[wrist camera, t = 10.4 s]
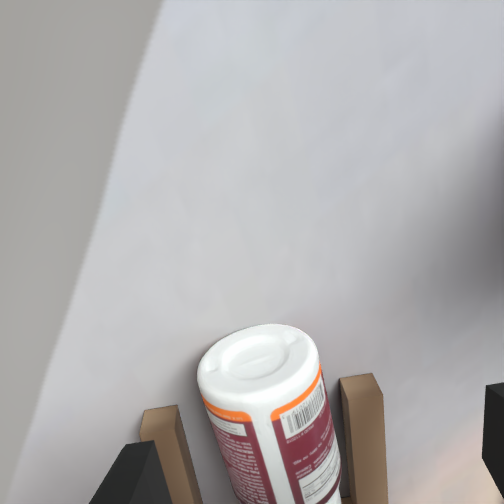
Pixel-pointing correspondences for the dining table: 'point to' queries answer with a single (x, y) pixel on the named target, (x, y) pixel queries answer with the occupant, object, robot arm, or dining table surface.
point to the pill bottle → (272, 416)
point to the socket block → (356, 438)
